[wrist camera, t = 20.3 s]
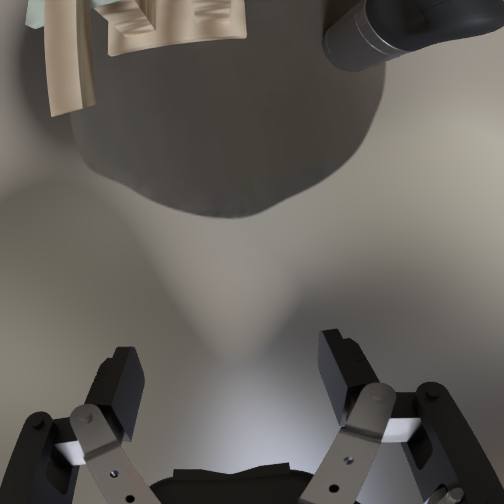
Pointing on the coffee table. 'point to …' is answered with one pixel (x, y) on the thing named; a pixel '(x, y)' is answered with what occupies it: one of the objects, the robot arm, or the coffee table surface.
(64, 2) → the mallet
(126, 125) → the coffee table surface
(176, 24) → the stepped stand
